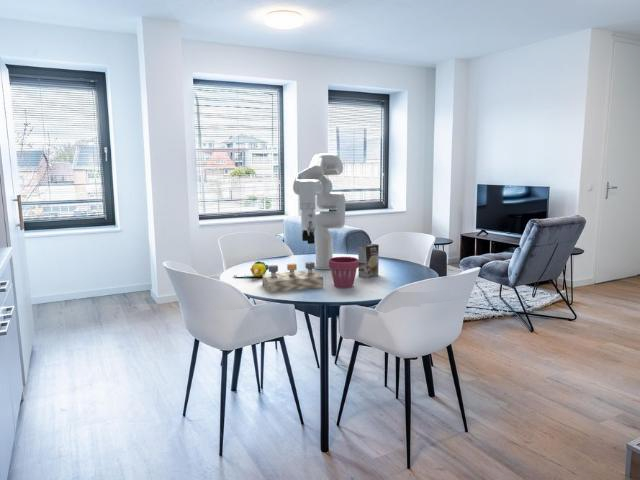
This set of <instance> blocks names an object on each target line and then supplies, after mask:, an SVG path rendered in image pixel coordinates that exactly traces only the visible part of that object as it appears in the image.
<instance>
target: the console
mask: <svg viewBox="0 0 640 480" xmlns="http://www.w3.org/2000/svg"><path fill="white" fill-rule="evenodd" d="M312 273H313V275H308V270H296V271H294V276H291V277H290V271H288V272H286V271H285V272H276V278H271V273H265V274H262V277H261V279H262V286H263V285H264V286H265V287H264V286H263V287H264V288H265V290H266V291H267V290H268V291H267V292H268V293H277V292H276V291H279V292H286V291H288V290H289V291H297V290H299V291H300V290H308V289H317V288H318V289H319V288H324V276H323V275H321V274H320V273H319V272H317V271H315V270H314V269H312Z"/></svg>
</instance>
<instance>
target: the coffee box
mask: <svg viewBox="0 0 640 480" xmlns="http://www.w3.org/2000/svg"><path fill="white" fill-rule="evenodd" d="M357 247H358V251H357V252H358V254H357V255H358V256H357V259H358V262H359V267H358V268H357V270H358V275H357V276H358V277H360V278H366V279H367V278H373V277H376V276H379V266H380V265H379V261H380V260H379V258H380V257H379V256H380V255H379V250H380V249H379V248H380V247H379V244H375V243H365V244H360V245H358V246H357Z"/></svg>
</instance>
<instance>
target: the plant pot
mask: <svg viewBox="0 0 640 480" xmlns="http://www.w3.org/2000/svg"><path fill="white" fill-rule="evenodd" d="M358 267H359V262H358V257H357V258H356V257H352V256H335V257H333V258H330V259H329V268H331V269H330V273H331V277H332V280H333V281H332V282H333V285H334V287H336V288H338V289H339V288H340V289H348V288H352V287H354V283H355V280H356V274H357V270H358Z"/></svg>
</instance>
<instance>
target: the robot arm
mask: <svg viewBox="0 0 640 480" xmlns="http://www.w3.org/2000/svg"><path fill="white" fill-rule="evenodd" d="M343 170H344V166H343V162H342V160H341V158H340V157H339V156H338V155H337V154H336V153H319V154H315V155H314V156H313V157H312V158H311V160H310V164H309V167H307V168H305V169H303V170H302V171H300V172H298V173H297V174H296V176H295V178H294V181H293V183H292V188H293V189H292V190H293V193H294V194H295V195H297V196H299V210H300V212H301V213H300V214H301V215H300V218H301V219H300V221H301V228H302V229H301V232H302V233H301V235H302V237H301V238H302V239H301V240H302V242H307V245H310V244H311V245H313V244H315V268H314V269H315V270H323V271H324V270H331V268H329V259H330V258H334V257H333V256H334V253H333V250H334V249H333V248H334V247H333V235H332V233H331V232H330V229H331V230H332V229H333V230H334V229H335V230H337V229H343V228H344V227H345V223H346V197H345V195H344V193H343V192H337V191H333V182H332V181H331V179H330V178H329V177H328V176H339V175H341V174H343ZM316 207H317V208H318V209H320V210H327V211H317V212H315V210H316ZM328 210H329V211H328ZM331 210H336V211H331Z"/></svg>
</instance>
